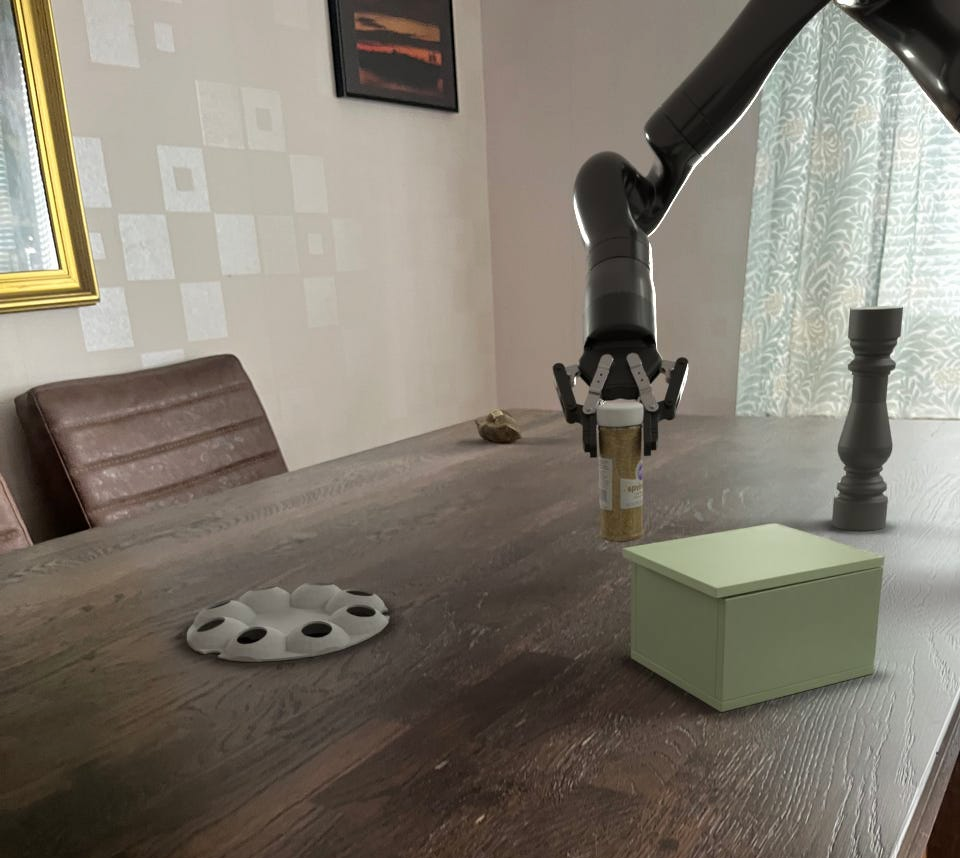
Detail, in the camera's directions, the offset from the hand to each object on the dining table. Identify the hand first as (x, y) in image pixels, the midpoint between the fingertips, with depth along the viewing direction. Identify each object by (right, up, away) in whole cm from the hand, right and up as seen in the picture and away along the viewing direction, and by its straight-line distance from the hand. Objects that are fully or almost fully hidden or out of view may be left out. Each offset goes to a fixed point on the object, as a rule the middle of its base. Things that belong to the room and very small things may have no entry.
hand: (620, 451), depth 97 cm
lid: (+8, -12, -18) cm, 23 cm away
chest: (+8, -20, -15) cm, 27 cm away
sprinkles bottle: (+1, -8, +5) cm, 9 cm away
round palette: (-32, -17, +1) cm, 36 cm away
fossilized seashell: (-10, +20, +94) cm, 97 cm away
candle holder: (+32, -4, +24) cm, 41 cm away
